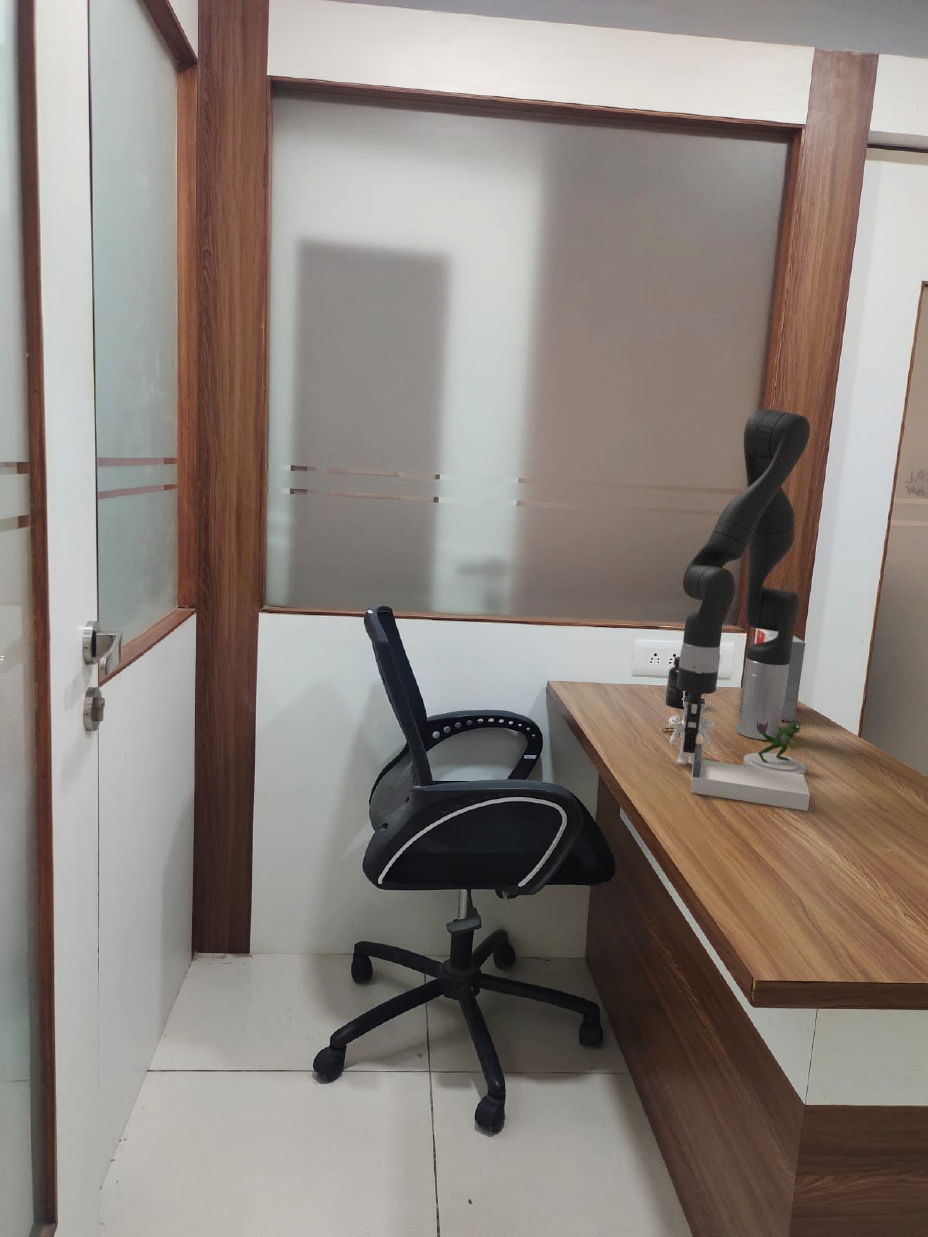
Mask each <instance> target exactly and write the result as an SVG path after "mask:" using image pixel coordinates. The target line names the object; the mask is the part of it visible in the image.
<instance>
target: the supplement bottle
mask: <svg viewBox="0 0 928 1237" xmlns="http://www.w3.org/2000/svg"><path fill="white" fill-rule="evenodd" d="M679 661H680V656H675V657H674V662H673V665H674V666H672V667H671V668H670V669H669V670H668V676H667V683H666V684H667V685H666V694H665V703H666V705H668V706H670V707H672V708H673V707H674V708H679V709H684V708H683V700H682V698H683V690H681V689H679V688H678V687H677V678H678V670H679ZM685 696H688V697H689V692H688V691H686V692H685Z"/></svg>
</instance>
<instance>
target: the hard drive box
mask: <svg viewBox="0 0 928 1237" xmlns="http://www.w3.org/2000/svg"><path fill="white" fill-rule="evenodd" d="M777 635H778V632H777V631H770V630H764V629H758V628H755V634H754V642H753V644H756V643H762V642H767V641H770V640H772V639H774V638H776V637H777ZM805 649H806V642H805V641H803V640H802V639H800V638H798V637H797V636H795V635H794V636H793V642H792V649H791V656H790V663H789V670H788V678H787V686H786V693H785V700H784V708H783V715H782V720H784V721H783V722H790V721H792V720H796V712H797V706H798V699H799V691H800V684H801V680H802V679H801V678H802V671H803V670H802V669H803V665H804V656H805Z"/></svg>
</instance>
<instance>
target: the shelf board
mask: <svg viewBox="0 0 928 1237" xmlns="http://www.w3.org/2000/svg"><path fill="white" fill-rule="evenodd" d="M693 760H694V759H693ZM690 793H692V794H698V795H705V796H711V797H718V798H724V799H730V800H736V801H741V800H742V802H749V803H753V804H754V803H755V804H761V805H768V806H774V807H780V808H785V809H793V810H798V811H805V812H808V811H809V804H810V798H811V794H810V790H809V788H808V785H807V782H806V778H805V774H804V775H803V774H796V773H790V772H783V771H776V770H770V769H763V768H756V767H750V766H746V765H742V764H736V763H735V764H734V763H727V762H721V761H716V760H708V759H702V758H701V769H700V777H699V778H697V777H693V766H692V769H691V781H690Z"/></svg>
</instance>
